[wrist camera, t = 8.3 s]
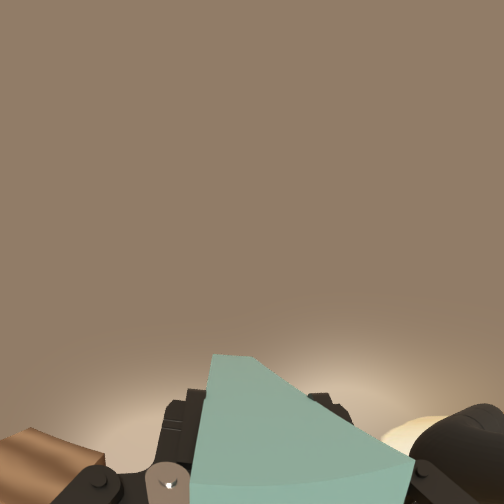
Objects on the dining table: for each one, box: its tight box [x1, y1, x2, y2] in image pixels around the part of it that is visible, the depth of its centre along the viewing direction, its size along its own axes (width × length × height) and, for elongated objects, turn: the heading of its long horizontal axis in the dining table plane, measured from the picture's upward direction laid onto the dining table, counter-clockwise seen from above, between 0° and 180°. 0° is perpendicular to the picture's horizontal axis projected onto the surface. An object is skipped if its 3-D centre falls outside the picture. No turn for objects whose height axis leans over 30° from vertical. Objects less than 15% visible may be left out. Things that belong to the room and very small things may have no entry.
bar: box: [189, 354, 415, 504], centre depth 15 cm, size 26×4×4 cm, turn 7°
